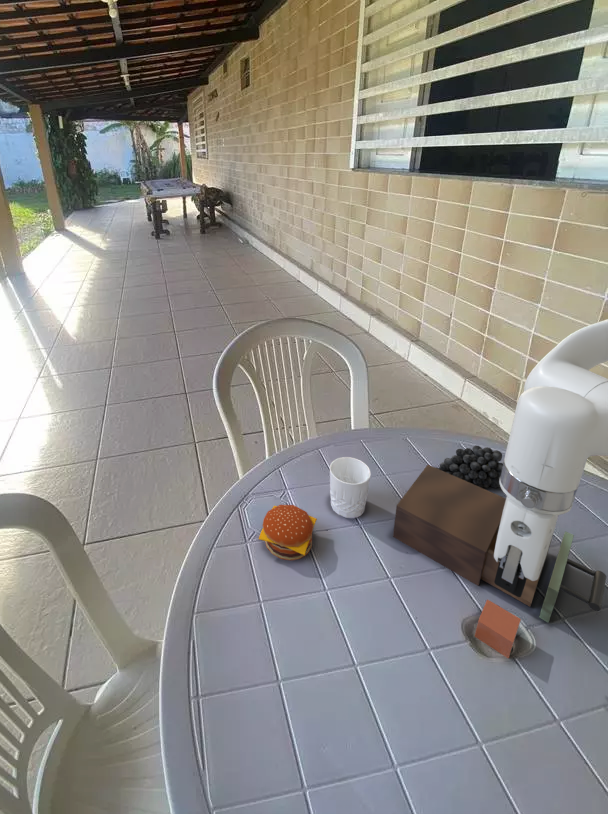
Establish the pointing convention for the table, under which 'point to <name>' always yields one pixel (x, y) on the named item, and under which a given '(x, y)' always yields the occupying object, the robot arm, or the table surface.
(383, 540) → the table surface
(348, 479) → the white cup
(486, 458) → the fruit
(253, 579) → the table surface
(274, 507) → the hamburger
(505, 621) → the block
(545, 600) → the drawer
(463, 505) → the cabinet
